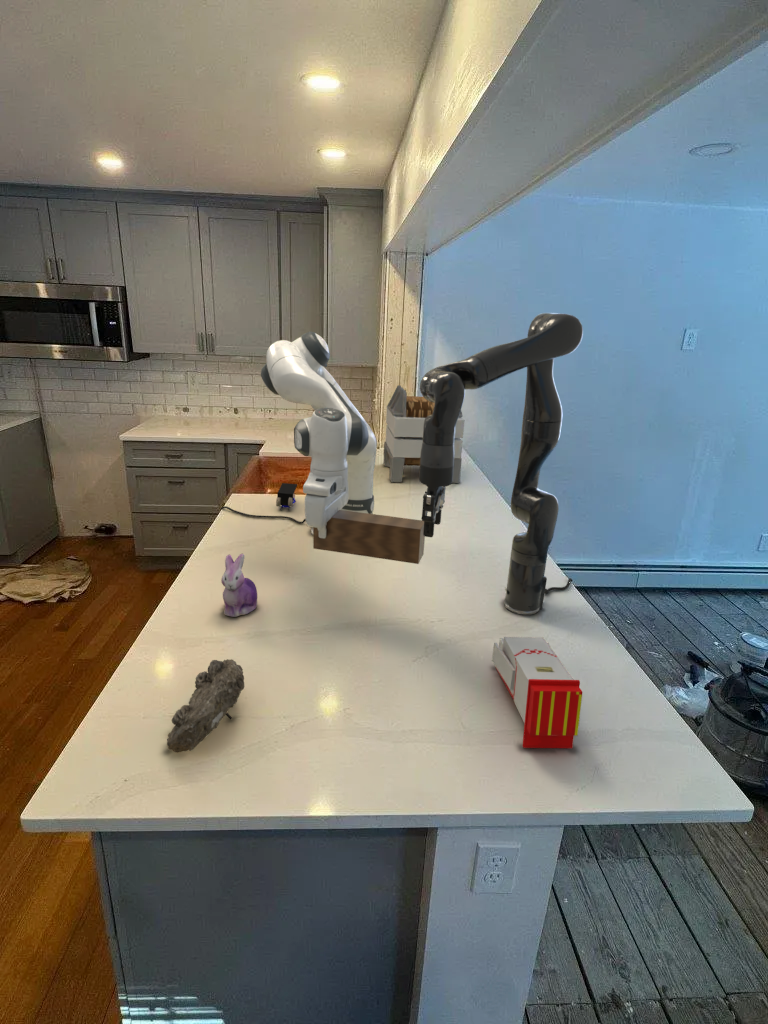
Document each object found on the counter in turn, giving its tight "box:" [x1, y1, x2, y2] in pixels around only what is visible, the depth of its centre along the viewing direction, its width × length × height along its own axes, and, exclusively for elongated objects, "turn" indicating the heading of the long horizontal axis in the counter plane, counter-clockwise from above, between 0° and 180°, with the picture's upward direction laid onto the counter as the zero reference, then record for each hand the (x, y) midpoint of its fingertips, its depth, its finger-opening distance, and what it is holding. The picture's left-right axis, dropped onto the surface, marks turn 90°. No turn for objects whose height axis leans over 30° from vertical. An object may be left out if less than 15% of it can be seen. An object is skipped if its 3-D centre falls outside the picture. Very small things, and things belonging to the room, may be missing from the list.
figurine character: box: [275, 482, 298, 511], centre depth 221 cm, size 7×8×15 cm
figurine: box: [220, 553, 258, 618], centre depth 144 cm, size 9×10×15 cm
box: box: [312, 510, 426, 565], centre depth 137 cm, size 26×6×9 cm, turn 75°
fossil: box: [166, 658, 245, 754], centre depth 106 cm, size 22×10×15 cm
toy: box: [491, 636, 583, 749], centre depth 115 cm, size 12×13×30 cm
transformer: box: [383, 384, 465, 484], centre depth 268 cm, size 34×33×41 cm
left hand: (328, 532), depth 140 cm, fingers closed on box, 6 cm apart
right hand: (432, 529), depth 132 cm, fingers open, 8 cm apart
